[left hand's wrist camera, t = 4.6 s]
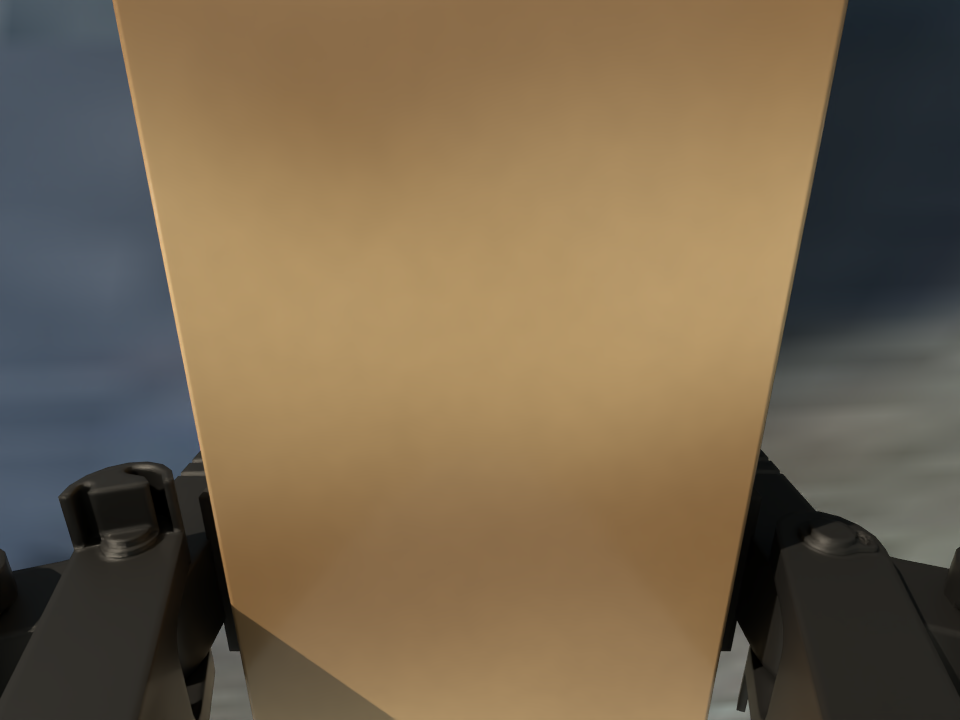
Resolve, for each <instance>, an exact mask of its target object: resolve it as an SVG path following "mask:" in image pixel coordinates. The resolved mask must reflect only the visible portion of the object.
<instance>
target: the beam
mask: <svg viewBox="0 0 960 720" xmlns="http://www.w3.org/2000/svg"><path fill="white" fill-rule="evenodd" d="M113 5H114V10H115V15H116V20H117V26H118V31H119V36H120V41H121V46H122V51H123V56H124V61H125V66H126V72H127V77H128V82H129V87H130V92H131V97H132V102H133V107H134V112H135V118H136V123H137V128H138V133H139V138H140V143H141V148H142V153H143V158H144V164H145V169H146V174H147V179H148V184H149V189H150V194H151V199H152V204H153V210H154V215H155V220H156V225H157V230H158V235H159V240H160V245H161V250H162V255H163V261H164V266H165V271H166V276H167V281H168V286H169V291H170V296H171V301H172V307H173V312H174V317H175V322H176V327H177V332H178V337H179V342H180V347H181V353H182V358H183V363H184V368H185V373H186V378H187V383H188V388H189V393H190V399H191V404H192V409H193V414H194V419H195V424H196V429H197V434H198V439H199V445H200V450H201V455H202V460H203V465H204V470H205V475H206V480H207V485H208V490H209V496H210V501H211V506H212V511H213V516H214V521H215V526H216V531H217V536H218V542H219V547H220V552H221V557H222V562H223V567H224V572H225V577H226V582H227V588H228V593H229V598H230V603H231V608H232V613H233V618H234V623H235V628H236V634H237V639H238V644H239V649H240V654H241V659H242V664H243V669H244V674H245V680H246V685H247V690H248V695H249V700H250V705H251V710H252V715H253V720H707V718H708V713H709V708H710V703H711V698H712V693H713V688H714V683H715V677H716V672H717V667H718V662H719V657H720V652H721V647H722V642H723V637H724V632H725V627H726V621H727V616H728V611H729V606H730V601H731V596H732V591H733V586H734V581H735V576H736V571H737V565H738V560H739V555H740V550H741V545H742V540H743V535H744V530H745V525H746V520H747V515H748V509H749V504H750V499H751V494H752V489H753V484H754V479H755V474H756V469H757V464H758V459H759V453H760V448H761V443H762V438H763V433H764V428H765V423H766V418H767V413H768V408H769V403H770V397H771V392H772V387H773V382H774V377H775V372H776V367H777V362H778V357H779V352H780V347H781V341H782V336H783V331H784V326H785V321H786V316H787V311H788V306H789V301H790V296H791V291H792V285H793V280H794V275H795V270H796V265H797V260H798V255H799V250H800V245H801V240H802V235H803V229H804V224H805V219H806V214H807V209H808V204H809V199H810V194H811V189H812V184H813V179H814V173H815V168H816V163H817V158H818V153H819V148H820V143H821V138H822V133H823V128H824V123H825V117H826V112H827V107H828V102H829V97H830V92H831V87H832V82H833V77H834V72H835V66H836V61H837V56H838V51H839V46H840V41H841V36H842V31H843V26H844V21H845V16H846V10H847V5H848V0H113Z"/></svg>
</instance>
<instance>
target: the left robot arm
mask: <svg viewBox="0 0 960 720" xmlns="http://www.w3.org/2000/svg"><path fill="white" fill-rule="evenodd" d="M58 498H59V501H60V504H61V508H62V511H63V514H64V517H65V521H66V524H67V527H68V531H69V534H70V537H71V540H72V544H73V547H74V552H73V554H72V556H71V558H70V559H69V560H66V561H62V562H57V563H52V564H47V565H42V566H36V567H31V568H26V569H21V570H16V571H12V570H11V567H10V565H9V562H8V559H7V556H6V553H5V552H4V551H3V550H1V549H0V720H209V718H210V710H211V702H212V694H213V685H214V677H215V668H214V661H213V656H212V652H211V646H212V644H213V642H214V640H215V638H216V636H217V635H218V633H219V631H220V629H221V627H222V625H223V623H224V626H225V631H226V636H227V640H228V645H229V650H230V651H240V649H239V644H238V639H237V634H236V628H235V623H234V618H233V613H232V608H231V603H230V598H229V593H228V588H227V582H226V577H225V572H224V567H223V562H222V557H221V552H220V547H219V542H218V536H217V531H216V526H215V521H214V516H213V511H212V506H211V501H210V496H209V490H208V485H207V480H206V475H205V470H204V465H203V460H202V455H201V451H200V452H199V453H198V454H197V455H196V456H195V458H194V459H193V462H192V463H189V464H188V465H187V467H186V468H185V469H184V470H183V471H182V472H181V476H178V477H177V478H176V479H175V480H174V478H173V474H172V470H170V469H169V468H168V467H166V466H165V465H163V464H158V463H153V462H132V463H125V464H121V465H116V466H111V467H107V468H104V469H102V470H99V471H97V472H94V473H91V474H89V475H86V476H85V477H83V478H81V479H79V480H78V481H76V482H74V483H73V484H71V485H69V486H68V487H67V488H66V489H65V490H64V491H63V492H62V493H61V495H60V496H59V497H58ZM737 621H738V623H739V625H740V627H741V629H742V631H743V633H744V635H745V636H746V638H747V640H748V642H749V644H750V647H749V652H748V656H747V661H746V665H745V670H744V675H743V679H742V684H741V688H740V693H739V697H738V704H737V710H738V711H742V712H745V709H746V704H747V700H749V708H750V716H751V720H960V547H959V548H958V549H956V552H955V555H954V558H953V561H952V563H951V566H950V569H947V568H942V567H937V566H932V565H927V564H922V563H917V562H912V561H907V560H902V559H897V558H894V557H890V556H889V555H888V553H887V551H886V549H885V548H884V546H883V545H882V544H881V543H880V542H879V540H878V539H877V538H876V537H875V536H874V535H872V534H871V533H869V532H868V531H867V530H865V529H864V528H862V527H861V526H859V525H857V524H855V523H853V522H850V521H848V520H846V519H844V518H841V517H839V516H835V515H831V514H827V513H823V512H819V511H815V510H814V508H813V507H812V506H811V505H810V504H809V503H808V502H807V501H806V499H805V498H804V497H803V496H802V495H801V494H800V493H799V492H798V491H797V489H796V488H795V487H794V486H793V485H792V484H791V483H790V482H789V480H788V479H787V478H786V477H785V476H784V475H783V474H780V470H779V469H778V468H777V467H776V466H775V465H774V464H773V462H772V461H769V460H768V457H767V456H766V455H765V454H764V452H763V451H762V450H761V449H760V453H759V459H758V464H757V469H756V474H755V479H754V484H753V489H752V494H751V499H750V504H749V509H748V515H747V520H746V525H745V530H744V535H743V540H742V545H741V550H740V555H739V560H738V565H737V571H736V576H735V581H734V586H733V591H732V596H731V601H730V606H729V611H728V616H727V621H726V627H725V632H724V637H723V642H722V647H721V651H731V647H732V643H733V638H734V633H735V628H736V623H737Z"/></svg>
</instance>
